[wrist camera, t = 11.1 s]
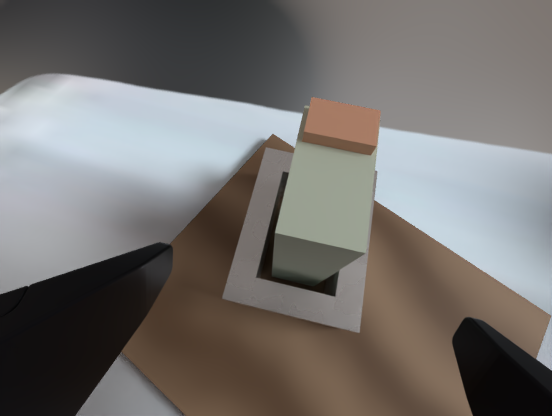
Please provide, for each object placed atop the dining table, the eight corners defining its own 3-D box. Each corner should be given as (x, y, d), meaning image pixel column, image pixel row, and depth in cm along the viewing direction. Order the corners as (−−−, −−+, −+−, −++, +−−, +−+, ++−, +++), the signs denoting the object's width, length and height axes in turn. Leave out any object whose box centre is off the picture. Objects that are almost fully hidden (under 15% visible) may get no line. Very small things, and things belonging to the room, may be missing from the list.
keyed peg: (313, 286, 19) (372, 249, 8) (271, 276, 19) (275, 227, 8) (325, 215, 21) (386, 109, 10) (287, 206, 21) (307, 93, 10)
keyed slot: (340, 329, 18) (359, 332, 14) (231, 301, 19) (221, 298, 15) (358, 195, 22) (377, 171, 18) (266, 175, 22) (265, 147, 18)
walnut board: (418, 635, 14) (429, 658, 13) (103, 324, 19) (94, 324, 18) (537, 315, 20) (551, 315, 19) (272, 140, 25) (272, 133, 24)
